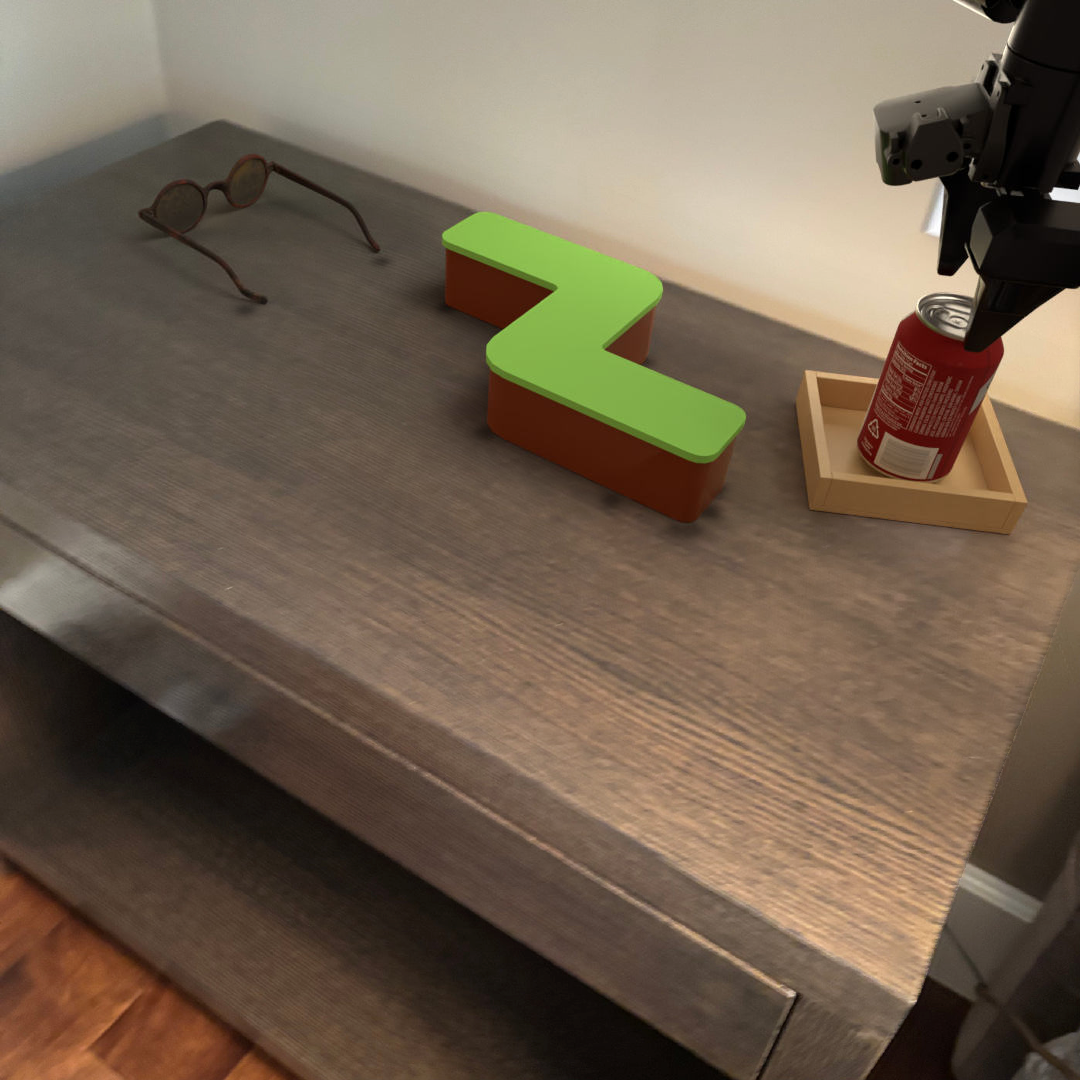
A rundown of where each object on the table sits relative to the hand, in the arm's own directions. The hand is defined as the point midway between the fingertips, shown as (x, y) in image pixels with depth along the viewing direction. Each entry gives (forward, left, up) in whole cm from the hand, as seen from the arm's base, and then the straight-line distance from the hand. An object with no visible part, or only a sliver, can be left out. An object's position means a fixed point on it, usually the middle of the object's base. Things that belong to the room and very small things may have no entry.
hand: (957, 310), depth 65 cm
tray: (0, 0, -13) cm, 13 cm away
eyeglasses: (+52, -20, -13) cm, 57 cm away
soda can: (0, 0, -12) cm, 12 cm away
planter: (+24, -5, -13) cm, 28 cm away
